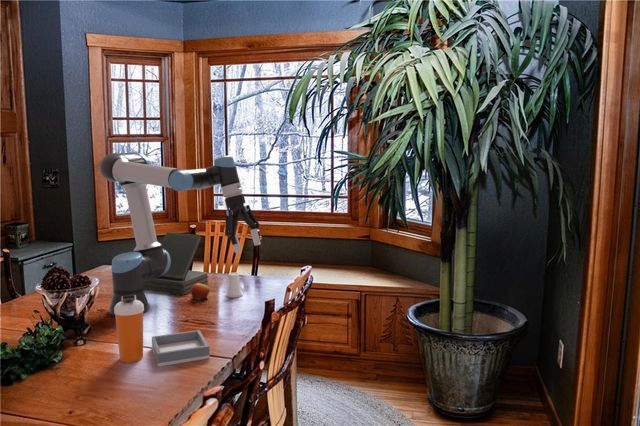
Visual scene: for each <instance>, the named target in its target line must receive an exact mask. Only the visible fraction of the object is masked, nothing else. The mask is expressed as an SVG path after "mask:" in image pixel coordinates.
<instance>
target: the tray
mask: <svg viewBox="0 0 640 426" xmlns="http://www.w3.org/2000/svg"><path fill="white" fill-rule="evenodd" d="M151 349H152V351H153V356H154V358H155V361H156V362H155V363H156V365H157V367H163V366H164V367H165V366H170V365H176V364H183V363H187V362H193V361H200V360H206V359H210V357H211V355H210V345H209V343H208V341H207V340H206V338H205V337H204V335H203V333H202V332H201V330H200V329H196V330H189V331H182V332H175V333H170V334H162V335H161V334H160V335H152V336H151Z"/></svg>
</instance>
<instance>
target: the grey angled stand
mask: <svg viewBox="0 0 640 426" xmlns="http://www.w3.org/2000/svg"><path fill="white" fill-rule="evenodd" d="M202 238H203V236H201V235H200V234H192V233H182V232H181V233H180V232H179V233H178V232H170V231H169V232H168V231H167V232H166V233H165V235H164V237H163V240H162V242H161V244H162V248H163V249H165V250H166V251H167V252H168V253H169V255H170V259H171V264H170V268H169V269H168V271H167V272H166V273H165V274H163V275H161V276H160V277H157V278H153V279H150V280H147V281H144V282H143V289H144V291H149V290H150V291H151V292H159V293H165V294H172V295H178V294H179V295H180V296H185V295H186V294H189V293H191V289H192V286H193V285H194V284H197V283H200V284H204V285H207V286H208V284H209V283H208V282H209V279H208V278H209V276H208V272H205V271H199V270H198V271H196V270H190V268H191V265H192V262H193V261H194V258H195V255H196V252H197V251H198V249H199V245H200V243H201V241H202ZM150 291H149V292H150ZM184 294H185V295H184Z"/></svg>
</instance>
